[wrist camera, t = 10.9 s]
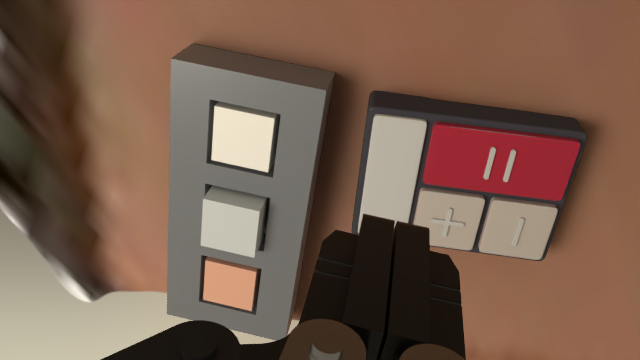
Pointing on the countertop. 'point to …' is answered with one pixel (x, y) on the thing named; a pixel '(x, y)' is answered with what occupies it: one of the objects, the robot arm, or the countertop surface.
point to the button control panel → (467, 172)
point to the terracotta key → (231, 283)
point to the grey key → (233, 221)
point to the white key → (244, 136)
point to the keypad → (243, 179)
